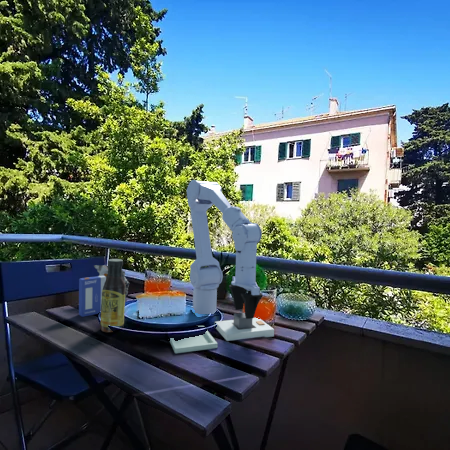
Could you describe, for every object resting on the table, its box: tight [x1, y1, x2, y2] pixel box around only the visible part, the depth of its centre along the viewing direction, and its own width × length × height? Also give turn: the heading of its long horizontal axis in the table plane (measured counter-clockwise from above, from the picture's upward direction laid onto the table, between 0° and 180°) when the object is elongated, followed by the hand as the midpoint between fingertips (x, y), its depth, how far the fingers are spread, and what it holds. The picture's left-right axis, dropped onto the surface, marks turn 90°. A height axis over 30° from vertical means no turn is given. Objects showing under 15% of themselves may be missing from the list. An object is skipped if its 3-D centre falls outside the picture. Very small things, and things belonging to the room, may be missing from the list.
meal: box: [93, 264, 130, 303], centre depth 112 cm, size 15×4×13 cm, turn 65°
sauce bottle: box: [100, 258, 126, 333], centre depth 88 cm, size 6×6×20 cm
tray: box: [169, 325, 219, 354], centre depth 82 cm, size 13×11×2 cm
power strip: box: [214, 317, 275, 342], centre depth 89 cm, size 10×14×2 cm
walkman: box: [78, 275, 106, 318], centre depth 101 cm, size 8×3×12 cm, turn 135°
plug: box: [233, 312, 252, 330], centre depth 89 cm, size 4×4×5 cm
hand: (244, 313), depth 89 cm, fingers open, 7 cm apart
